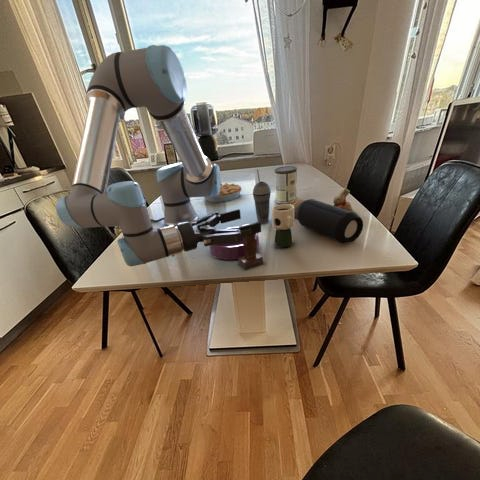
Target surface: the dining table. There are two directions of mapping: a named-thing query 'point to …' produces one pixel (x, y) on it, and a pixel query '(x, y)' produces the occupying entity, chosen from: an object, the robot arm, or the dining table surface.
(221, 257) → the bowl
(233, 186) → the pie
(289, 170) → the coffee can
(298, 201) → the bread roll
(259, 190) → the beverage cup
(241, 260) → the wooden stamp
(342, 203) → the chocolate bunny
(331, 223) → the portable speaker
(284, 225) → the character mug
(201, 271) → the dining table surface
